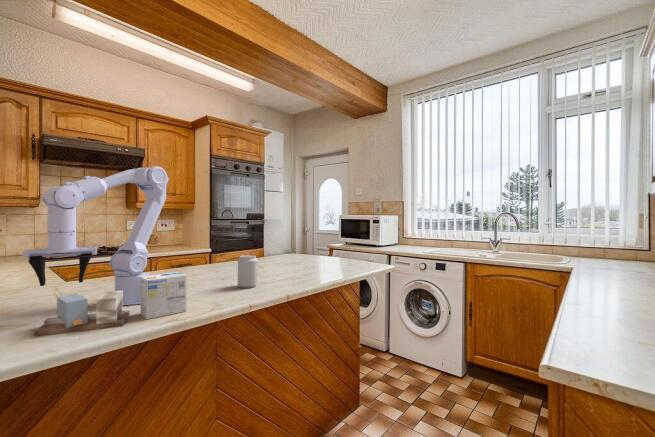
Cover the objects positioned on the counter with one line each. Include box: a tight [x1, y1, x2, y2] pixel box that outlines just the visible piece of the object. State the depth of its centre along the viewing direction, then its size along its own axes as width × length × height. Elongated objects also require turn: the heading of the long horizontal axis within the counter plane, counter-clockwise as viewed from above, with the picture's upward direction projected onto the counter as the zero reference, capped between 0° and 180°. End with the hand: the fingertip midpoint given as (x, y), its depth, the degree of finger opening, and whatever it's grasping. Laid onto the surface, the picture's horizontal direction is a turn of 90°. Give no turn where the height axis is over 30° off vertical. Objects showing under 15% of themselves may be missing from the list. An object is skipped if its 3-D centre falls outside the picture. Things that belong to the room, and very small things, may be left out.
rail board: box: [33, 290, 131, 337], centre depth 77 cm, size 17×9×7 cm, turn 114°
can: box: [237, 254, 259, 289], centre depth 119 cm, size 8×8×12 cm
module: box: [56, 293, 88, 328], centre depth 76 cm, size 4×9×6 cm, turn 54°
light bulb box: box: [140, 271, 188, 320], centre depth 87 cm, size 11×7×11 cm, turn 135°
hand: (62, 283), depth 81 cm, fingers open, 7 cm apart
